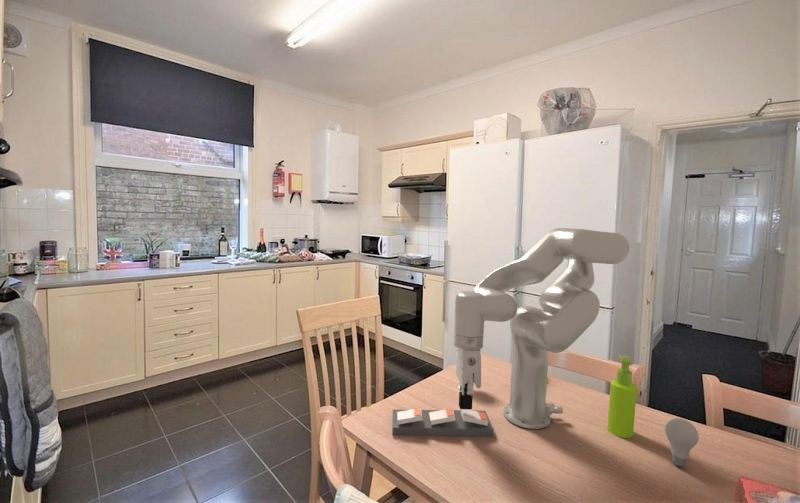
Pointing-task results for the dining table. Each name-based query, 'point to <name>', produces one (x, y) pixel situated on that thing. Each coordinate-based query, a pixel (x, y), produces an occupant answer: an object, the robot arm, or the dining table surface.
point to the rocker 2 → (474, 417)
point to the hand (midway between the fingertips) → (465, 407)
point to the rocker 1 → (409, 416)
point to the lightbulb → (681, 439)
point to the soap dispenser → (622, 402)
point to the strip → (441, 426)
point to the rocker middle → (442, 416)
